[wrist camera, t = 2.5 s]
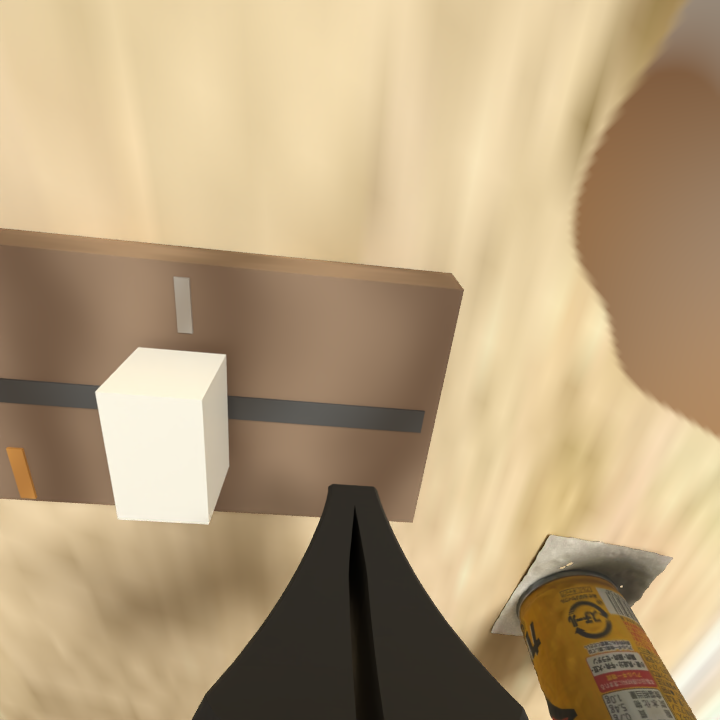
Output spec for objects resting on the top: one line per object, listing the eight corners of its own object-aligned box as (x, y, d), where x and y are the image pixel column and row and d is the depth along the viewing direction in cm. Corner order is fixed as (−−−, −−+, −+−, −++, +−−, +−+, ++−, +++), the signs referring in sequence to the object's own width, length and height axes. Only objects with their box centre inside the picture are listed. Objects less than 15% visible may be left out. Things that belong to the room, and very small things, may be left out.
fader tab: (152, 461, 18) (118, 519, 15) (138, 347, 16) (94, 391, 13) (229, 466, 18) (208, 524, 15) (226, 354, 16) (201, 400, 13)
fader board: (23, 466, 21) (-9, 500, 19) (-47, 223, 16) (-99, 235, 14) (407, 491, 22) (412, 524, 20) (451, 273, 17) (464, 290, 15)
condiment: (489, 629, 28) (580, 945, 17) (548, 531, 24) (713, 856, 13) (596, 643, 29) (747, 950, 18) (669, 552, 25) (913, 869, 14)
